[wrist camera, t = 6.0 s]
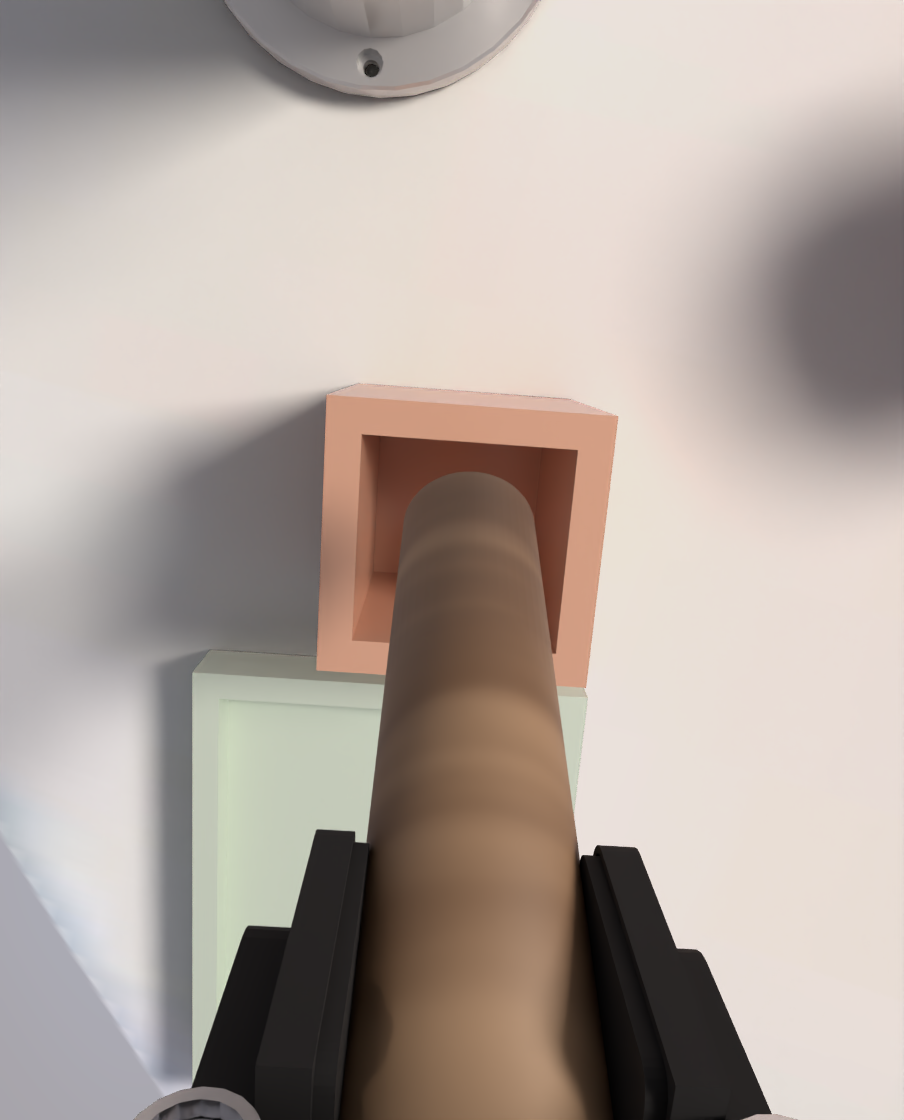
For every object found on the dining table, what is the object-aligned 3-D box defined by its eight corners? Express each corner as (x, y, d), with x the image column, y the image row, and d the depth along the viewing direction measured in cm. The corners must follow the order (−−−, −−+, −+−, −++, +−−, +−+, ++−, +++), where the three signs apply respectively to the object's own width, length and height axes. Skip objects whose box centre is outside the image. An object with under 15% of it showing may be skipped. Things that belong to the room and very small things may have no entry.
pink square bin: (358, 383, 32) (326, 394, 23) (569, 399, 32) (618, 416, 23) (348, 587, 33) (316, 670, 25) (548, 601, 34) (585, 687, 25)
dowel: (407, 460, 19) (326, 729, 5) (537, 469, 19) (776, 758, 6) (389, 762, 21) (293, 1534, 7) (508, 770, 21) (636, 1546, 7)
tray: (210, 649, 34) (192, 672, 32) (577, 673, 34) (587, 697, 32) (208, 1058, 39) (192, 1105, 36) (531, 1074, 39) (536, 1122, 37)
